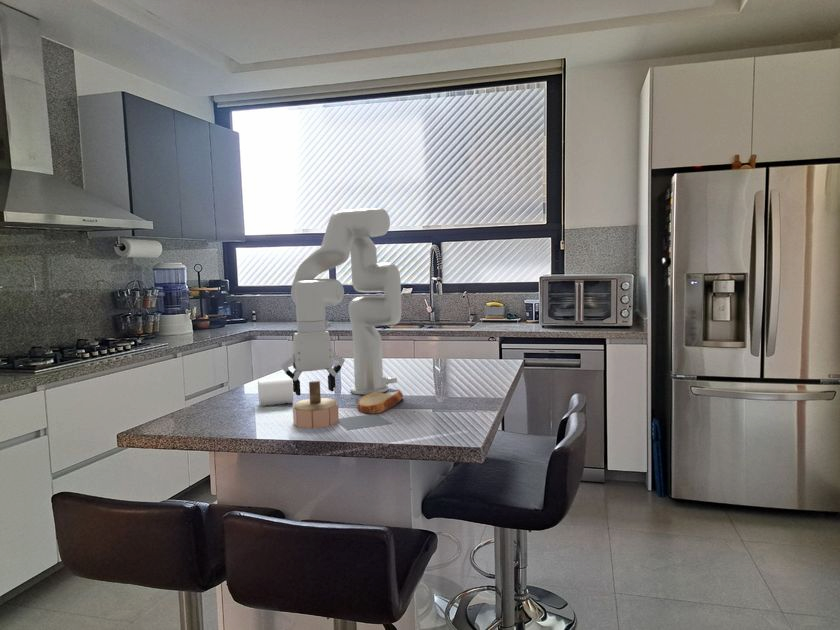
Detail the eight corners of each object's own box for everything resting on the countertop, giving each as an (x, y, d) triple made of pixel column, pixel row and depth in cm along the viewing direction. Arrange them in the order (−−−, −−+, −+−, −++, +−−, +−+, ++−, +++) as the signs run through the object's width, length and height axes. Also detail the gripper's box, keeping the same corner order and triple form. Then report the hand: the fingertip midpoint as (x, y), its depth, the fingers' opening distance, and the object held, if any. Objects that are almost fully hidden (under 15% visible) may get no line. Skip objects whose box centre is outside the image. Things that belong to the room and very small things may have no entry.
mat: (376, 415, 161) (376, 413, 161) (392, 425, 151) (392, 423, 150) (334, 421, 157) (334, 419, 157) (347, 432, 146) (347, 430, 146)
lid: (330, 399, 161) (329, 376, 161) (341, 407, 151) (340, 383, 151) (290, 404, 157) (289, 380, 156) (299, 412, 147) (298, 387, 146)
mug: (294, 405, 178) (292, 379, 177) (260, 408, 174) (258, 382, 174) (289, 397, 189) (288, 373, 188) (258, 400, 186) (256, 376, 185)
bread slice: (368, 415, 159) (368, 401, 159) (341, 405, 175) (340, 393, 174) (423, 405, 169) (423, 392, 169) (393, 397, 184) (392, 385, 184)
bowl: (331, 416, 162) (330, 399, 162) (342, 426, 152) (341, 407, 151) (290, 422, 157) (290, 404, 157) (300, 432, 147) (299, 412, 147)
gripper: (339, 324, 159) (342, 386, 161) (275, 328, 152) (279, 393, 154) (347, 326, 153) (350, 391, 154) (280, 331, 146) (284, 399, 147)
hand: (314, 392), depth 154 cm, fingers open, 8 cm apart
